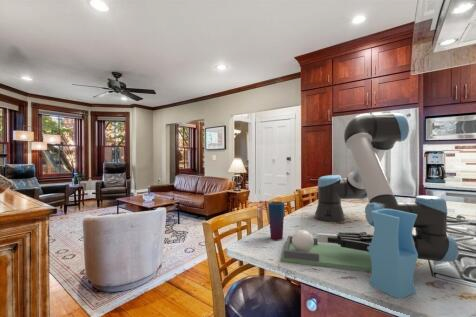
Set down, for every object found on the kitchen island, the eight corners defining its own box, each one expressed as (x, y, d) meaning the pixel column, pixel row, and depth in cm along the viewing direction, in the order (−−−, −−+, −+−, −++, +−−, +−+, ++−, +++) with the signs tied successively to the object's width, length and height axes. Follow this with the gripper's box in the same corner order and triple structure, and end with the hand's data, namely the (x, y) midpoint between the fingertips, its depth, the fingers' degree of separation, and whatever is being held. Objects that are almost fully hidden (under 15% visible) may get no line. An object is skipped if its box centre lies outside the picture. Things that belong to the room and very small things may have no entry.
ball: (296, 228, 89) (303, 247, 88) (284, 235, 84) (292, 256, 83) (312, 225, 84) (321, 246, 83) (301, 233, 79) (310, 255, 78)
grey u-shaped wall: (317, 244, 90) (317, 238, 90) (319, 261, 76) (318, 254, 76) (288, 241, 93) (288, 235, 93) (284, 257, 79) (284, 250, 79)
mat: (382, 252, 84) (382, 249, 84) (398, 275, 69) (398, 271, 69) (285, 243, 94) (285, 240, 94) (281, 261, 79) (281, 257, 79)
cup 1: (274, 234, 105) (274, 200, 105) (287, 237, 101) (287, 202, 100) (265, 238, 101) (264, 203, 100) (278, 242, 96) (278, 205, 95)
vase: (397, 299, 58) (397, 218, 57) (368, 283, 65) (368, 211, 64) (417, 291, 61) (417, 214, 60) (387, 277, 68) (387, 208, 67)
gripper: (402, 264, 70) (317, 255, 77) (388, 247, 82) (316, 241, 89) (402, 239, 70) (317, 232, 77) (388, 226, 82) (316, 221, 89)
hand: (317, 237), depth 83 cm, fingers closed
